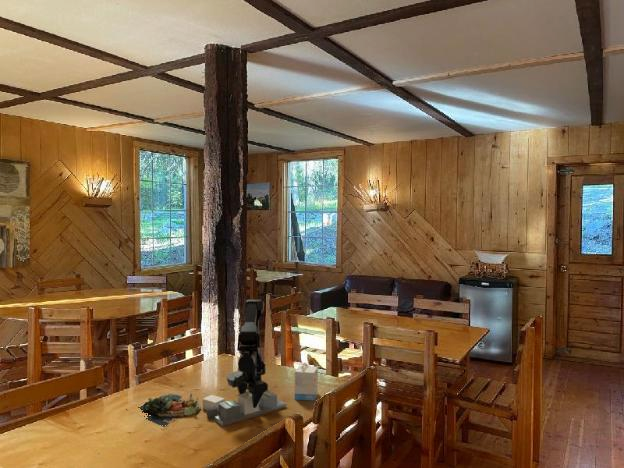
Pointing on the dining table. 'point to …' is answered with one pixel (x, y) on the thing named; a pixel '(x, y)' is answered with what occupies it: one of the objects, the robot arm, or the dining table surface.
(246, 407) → the loose module
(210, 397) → the block
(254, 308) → the robot arm
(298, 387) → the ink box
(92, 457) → the dining table surface
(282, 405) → the rail
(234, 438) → the dining table surface
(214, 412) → the black knob
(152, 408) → the plated dish
